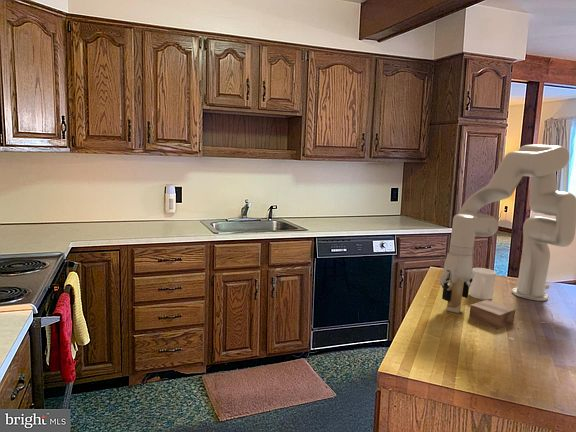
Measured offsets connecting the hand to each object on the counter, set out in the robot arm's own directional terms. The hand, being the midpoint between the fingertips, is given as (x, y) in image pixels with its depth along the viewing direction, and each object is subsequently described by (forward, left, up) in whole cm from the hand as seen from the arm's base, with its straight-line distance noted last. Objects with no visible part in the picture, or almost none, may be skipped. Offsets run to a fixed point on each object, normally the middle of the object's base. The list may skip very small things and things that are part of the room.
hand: (454, 298), depth 154 cm
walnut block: (-4, +12, -4) cm, 13 cm away
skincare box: (0, 0, -4) cm, 4 cm away
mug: (-20, -4, -4) cm, 21 cm away
